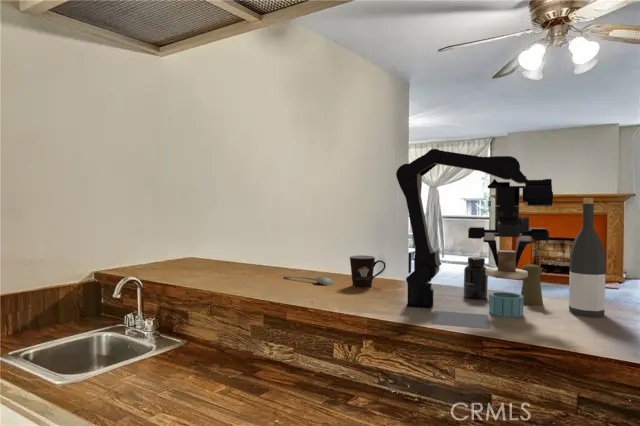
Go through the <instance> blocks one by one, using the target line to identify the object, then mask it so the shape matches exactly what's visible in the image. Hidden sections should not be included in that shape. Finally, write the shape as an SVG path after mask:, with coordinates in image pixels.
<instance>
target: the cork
mask: <svg viewBox="0 0 640 426" xmlns="http://www.w3.org/2000/svg"><path fill="white" fill-rule="evenodd" d="M521 270H525V271H527V272H528V277H527V278H522V279H523V280H522V286H521V292H520V295H523V297H524V304H523V305H526V306H533V305H539V306H543V305H544V303H543V302H544V301H543V300H544V299H543V293H542V285H541V276H542V275H543V270H542V267H541V266H539V265H537V264H533V263H532V264H531V263H529V264H524V265H523V266H522V268H521Z"/></svg>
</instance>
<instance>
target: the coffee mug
mask: <svg viewBox="0 0 640 426" xmlns="http://www.w3.org/2000/svg"><path fill="white" fill-rule="evenodd" d="M375 260H376V256H373V255H364V254H363V255H359V254H358V255H351V256H349V262H350V264H349V265H350V272H351V281H352V287H353V286H355V287H354V288H357V287H369V288H372V284H373V279H374V278H376V277H377V276H379V275H380V274H382V273H383V272H384V270H385V269H386V262H385V261H383V260H380V259H379V260H378V259H377V260H376V261H375ZM378 263H382V264H383V268H382V269H381V270H380V271H379V272H377V273H376V274H375V275H374V268H375V266H376V265H377V264H378Z"/></svg>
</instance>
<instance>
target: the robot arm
mask: <svg viewBox="0 0 640 426" xmlns="http://www.w3.org/2000/svg"><path fill="white" fill-rule="evenodd" d="M439 165H441V166H447V167H454V168H459V169H465V170H471V171H477V172H481V173H484V174H487V175H489V176H493V177H494V179H492V181H491V183H490V184H488V185H487V188H488V189H495V195H494V196H495V198H494V200H495V201H494V202H495V203H494V229H485V226H470V227H468V228H467V230H468V231H467V233H468V235H467V236H468V237H467V238H468V239H473V240H474V239H479V240H481V239H482V241H483V243H487V244H488V246H489V248H490V250H491V254H492V256H493V261H494V263H495V268H497V267H498V247H497V240H496V239H495V238H496V237H497V238H498V237H501V238H518V239H516V243H515V244H516V245H515V252H516V269H518V268H517V267H518V264H519V262H520V259H521V256H522V255H523V252H524V250H525V249H526V247H527V245H528V244H532V243H533V241H532V239H533V240H534V241H549V240H550V232H549V230H548V229H547V228H544V227H530V219H529V216H520V191H521V189H522V191H521V192H522V193H521V194H522V197H521V199H522V200H521V201H522V203H526V207H553V205H554V203H553V201H554V191H553V186H552V185H553V184H552V182H553V181H552V178H544V179H528V178H527V176H526V175H525V174H523V172H522V171H521V165H520V162H519V160H518V159H517V158H516V157H514V156H509V155H501V156H500V155H495V156H494V155H493V156H480V155H474V154H472V155H471V154H465V153H459V152H453V151H447V150H440V149H438V148H431V149H429V151H427V152H426V153H425V154H423V155H421V156H419V157H417V158H415V159H413V160H412V161H411V162H410V163H404V164H402V165H400V166H399V167H398V168H397V170H396V173H395V174H396V175H395V176H396V179H397V182H398V184H399V187H400V189H401V192H402V193H403V195H404V197H405V200H406V206H407V211H408V217H409V222H410V223H409V224H410V227H411V233H412V236H413V242H414V257H413V264H414V266H413V267H414V268H413V269H414V270H413V271H412V272H411V273H410V274H409V275H408V276H406V278H405V280H406V283H407V303H406V307H408V308H420V309H432V306H434V304H435V303H434V302H435V301H434V300H435V299H434V298H435V296H434V295H435V294H434V293H435V292H434V291H435V290H434V288H432V287H433V285H432V283H431V281H432V280H433V279H434V278H435V277H436V276H437V274H438V273H439V271H440V266H442V262H441V260H440V253H439V252H440V251H439V250H437V249H436V250H433V248H432V245H431V241H430V237H429V231H428V225H427V222H426V217H425V215H426V214H425V211H424V205H423V200H422V187H423V178H422V177H423V176H425V175H426V174H427V173H429V172H430V171H431V170H432V169H434V168H435V167H436V166H439ZM495 178H498V179H501V180H505V181H497V180H496V179H495ZM510 180H512V181H513V182H515V183H516V184H519V185H511V181H510ZM520 184H521V185H520ZM522 184H523V185H522Z"/></svg>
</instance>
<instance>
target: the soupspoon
mask: <svg viewBox="0 0 640 426" xmlns="http://www.w3.org/2000/svg"><path fill="white" fill-rule="evenodd" d="M284 278H287V279H288V278H289V279H292V278H293V279H305V280H311V281H315V282H316V283H319V284H321V285H324V286H326V285H329V286H332V285H331V284H334V283H335V282H334V280H332V279H331V278H329V277H326V276H319V277H317V278H313V277H308V276H307V277H304V276H291V275H290V276H289V275H285V274H284V275H283V279H284ZM334 285H335V284H334Z"/></svg>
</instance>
